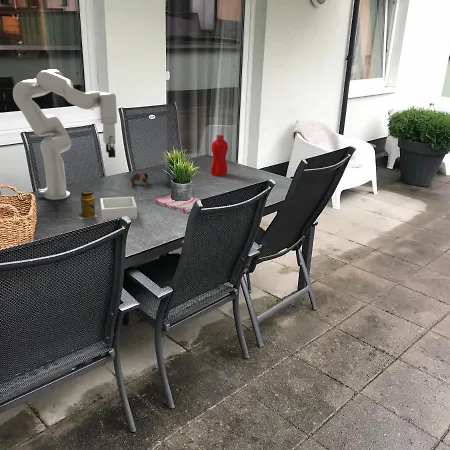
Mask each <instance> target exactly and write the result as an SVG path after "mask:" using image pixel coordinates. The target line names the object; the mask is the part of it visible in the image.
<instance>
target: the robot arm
mask: <svg viewBox="0 0 450 450" xmlns="http://www.w3.org/2000/svg"><path fill="white" fill-rule="evenodd" d="M51 92H52V93H54V94H56V95H58V96H61V97H63V98H64V99H65V100H66V101H67V102H68V103H69V104H71V105H73V106H75V107H78V108H80V109H83V110H92V109H94V108H95V109H96V108H99V113H100V123H101V124H102V135H103V138H102V140H103V141H102V142H103V143H104V144H105V152H106V154H107V153H108V158H112V159H113V158H116V149H115V146H116V124H118V116H117V115H118V113H117V110H118V109H117V96H116V94H115V93H113V92H102V91H98V90H93V91H92V90H91V91H88V92H83V91H80V90H79V89H76V88H75V87H74V83H73V81H72V80H71V79H69V78H67V77H64V74H63V73H62V72H61V71H60V70H57V69H47V70H46V69H45V70H41V71H39V72H38V73H37V74H36V77H35V78H33V79H25V80H21V81H19V82H17V83H16V84H15V85H14V87H13V89H12V96H13V100H14V103H15V104H16V106H17V107H18V109H19V110H20V111H21V113H22V114H23V115H24V118H25V119H26V122H27V123H28V125H29V126H30V128H31V129H32V132H33V133H34V134H35V135H36V136H38V137H43V136H47V135H49V136H47V137H45V138H44V139H43V140H42V141H41V142H40V152H41V154H42V158H43V164H44V165H43V166H44V173H45V183H46V187H45V188H38V190H37V191H38V194H39V193H40V195H43V194H44V198H46V199H47V200H53V201H55V200H64V199H67V198H69V197H70V195H71V192H70V191H68V190H67V181H66V172H65V163H64V159H63V157H62V155H61V154H62V153H64V152H67V151H69V150H70V149H71V147H72V140H71V138H70V135H69V133H68V132H67V131H66V129H65V127H64V125H63V124H62V121H61V120H60V119H59V118H58V117H57V116H56V115H55V114H50V113H49V114H44V112H43V111H42V109H41V107H40V106H39V104H37V102H35V101H34V100H33V98H39V97H42V96H45V95H47V94H49V93H51Z"/></svg>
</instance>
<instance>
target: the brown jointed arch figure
mask: <svg viewBox="0 0 450 450" xmlns="http://www.w3.org/2000/svg"><path fill="white" fill-rule="evenodd" d="M141 179H142V182H143V186H144V188H146V187H148V186H149V183H148V179H149V175H148V174H147V172H143V173H141V172H137V173H135V174H134V175H132V177H130V178H129V181H130V184H132V185H133V184H136V181H138V182H139V181H141Z"/></svg>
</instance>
